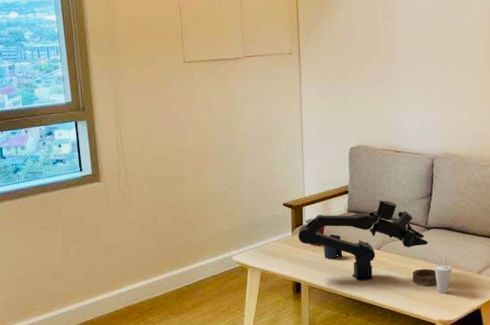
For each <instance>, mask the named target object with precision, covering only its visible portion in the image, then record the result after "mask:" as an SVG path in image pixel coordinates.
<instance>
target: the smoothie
mask: <svg viewBox="0 0 490 325" xmlns="http://www.w3.org/2000/svg"><path fill="white" fill-rule="evenodd" d="M433 270H435V274H436V282H437V285H436V289H437V292H438V293H439V294H443V293H444V294H448V293H447V292H449V284H450V281H451V280H450V278H451V272H452V270H453V269H452V267H451V266H450V265H447V264H446V257H445V256H443V264H438V265H436V266H435V265H434V267H433Z"/></svg>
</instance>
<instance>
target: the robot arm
mask: <svg viewBox="0 0 490 325" xmlns="http://www.w3.org/2000/svg"><path fill="white" fill-rule="evenodd" d="M396 208H397V204H396V203H394V202H392V201H388V200H379V202H378V207H377V210H374V211H371V212H362V213H361V212H360V213H355V214H352V215H323V214H318V215H316V216H315V217H314V218H315V219H313V220H312V221H311V222H309V223H308V224H307V225H306V224H305V225H303V226H301V227H300V228H299V230H298V236H297V237H298V240H299V242H301V243H303V244H307V245H310V244H321V245H320V246H323V247H324V246H327V247H331V248H334V249H337V250H341V251H342V252H345V253H348V254H351V255H353V256H354V260H355V262H353V273H352V277H354V278H355V279H356V280H358V281H364V280H372V279H373V278H374V277H373V266H372V263H371V262H372V261H373V260H374V259H375V257H376V256H375V255H376V254H375V250H374V248H373V246H372V245H371V244H369V242H365V241H362V240H360V239H359V240H358V242H357V243H356V242H350V241H347V240H343V239H341V238H340V239H341V240H340V239H337V238H334V237H330V235H327V234H325V233H324V234H321V233H319V232H318V230H319V229H320V228H321V227H322V226H325V227H351V228H356V229H358V230H359V229H360V230H365V231H367V230H368V231H369V232H370V233H371V234H372V237H375V235H376V232H377V233H379V234H383V235H385V236H388V237H389V238H391V239H392V238H394V239H398V240H399V241H401V242H402V245H403V247H405V248H412V247H416V246H425V245H428V243H429V242H428V241H427V240H425V239H423V238H424V237H425V236H424V234H422V233H421V232H419V231H417V230H415V229H414V228H412V226H411V224H410V222H411V221H412V219H413V217H412V215H411V214H410V213H408V212H407V211H405V210H404V211H399V212H398V213H397V215H398V218H397V220H392V221H390V220H391V219H392V218H393V217H394V214H395V211H396Z"/></svg>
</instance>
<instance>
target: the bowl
mask: <svg viewBox="0 0 490 325" xmlns="http://www.w3.org/2000/svg"><path fill="white" fill-rule="evenodd" d="M412 282H413V283H414V284H416V285H420V286H423V287H425V286H426V287H434V286H436V287H437V282H436V274H435V270H434V269H428V268H426V269H425V268H422V269H416V270H414V271H412Z"/></svg>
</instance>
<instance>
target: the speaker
mask: <svg viewBox="0 0 490 325" xmlns="http://www.w3.org/2000/svg"><path fill="white" fill-rule="evenodd" d="M329 236H330V237H334V238H337V239H340V240H342V239H341V235H336V234H329ZM323 250H324V251H323V252H324V258H325V259H327V258H328V260H333V259H332V258H334V259H335V258H338V257H339V256H342V257H343V251H341V250H337V249H334V248H331V247H327V246H324V245H323ZM337 255H338V256H337Z"/></svg>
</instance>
